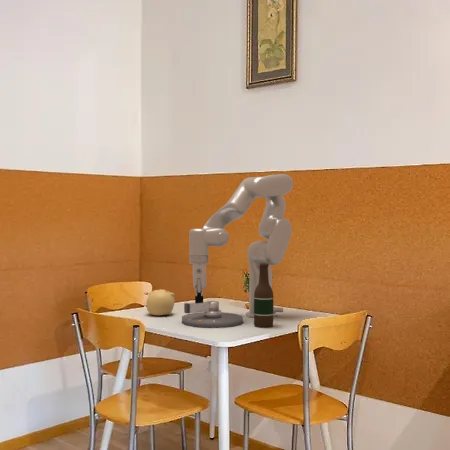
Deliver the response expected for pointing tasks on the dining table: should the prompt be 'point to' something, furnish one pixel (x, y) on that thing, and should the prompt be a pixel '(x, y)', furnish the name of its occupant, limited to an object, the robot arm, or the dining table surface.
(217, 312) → the dial
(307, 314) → the dining table surface
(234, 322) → the dial plate
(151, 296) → the sculpture
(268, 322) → the beer bottle
